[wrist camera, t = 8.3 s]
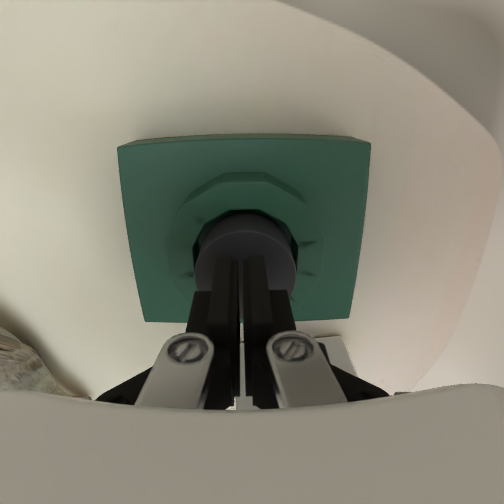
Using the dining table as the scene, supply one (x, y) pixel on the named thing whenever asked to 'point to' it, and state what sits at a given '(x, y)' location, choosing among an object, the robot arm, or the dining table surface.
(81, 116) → the dining table surface
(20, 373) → the decorative bird
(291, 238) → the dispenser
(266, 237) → the dark grey push button
